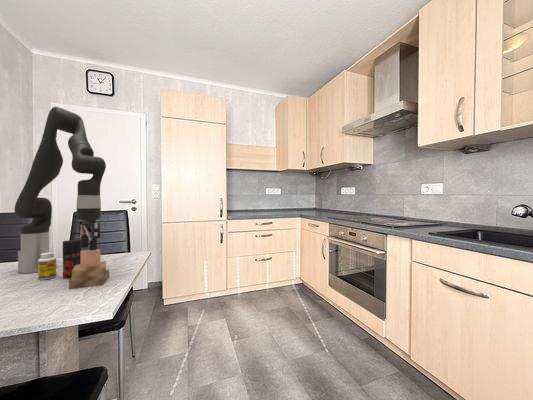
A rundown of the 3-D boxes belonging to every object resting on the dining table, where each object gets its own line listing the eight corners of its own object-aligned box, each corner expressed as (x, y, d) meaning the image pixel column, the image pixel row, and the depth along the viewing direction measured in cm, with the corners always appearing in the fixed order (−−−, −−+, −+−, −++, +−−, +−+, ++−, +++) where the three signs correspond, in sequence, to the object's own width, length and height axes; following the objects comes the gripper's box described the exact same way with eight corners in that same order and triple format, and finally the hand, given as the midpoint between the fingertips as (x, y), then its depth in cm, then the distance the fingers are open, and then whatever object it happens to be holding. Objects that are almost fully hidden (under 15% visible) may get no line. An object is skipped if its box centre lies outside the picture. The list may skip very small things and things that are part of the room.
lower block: (68, 290, 84) (68, 280, 84) (80, 281, 93) (80, 272, 93) (101, 286, 87) (101, 277, 87) (109, 278, 96) (109, 269, 96)
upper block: (71, 281, 83) (71, 271, 83) (75, 273, 91) (75, 264, 91) (105, 275, 89) (105, 266, 89) (105, 269, 97) (105, 261, 97)
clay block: (84, 268, 87) (84, 252, 87) (80, 266, 90) (80, 250, 90) (100, 265, 91) (100, 250, 91) (95, 263, 94) (95, 248, 94)
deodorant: (84, 275, 99) (84, 240, 99) (68, 279, 93) (68, 242, 93) (75, 273, 101) (75, 239, 101) (59, 278, 95) (59, 241, 95)
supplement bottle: (36, 281, 91) (35, 255, 91) (39, 277, 96) (39, 252, 96) (54, 278, 94) (54, 253, 94) (57, 274, 99) (57, 251, 99)
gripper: (107, 207, 89) (107, 249, 89) (93, 206, 97) (92, 244, 97) (84, 207, 83) (84, 253, 83) (70, 206, 91) (70, 248, 91)
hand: (88, 248), depth 90 cm, fingers open, 8 cm apart
